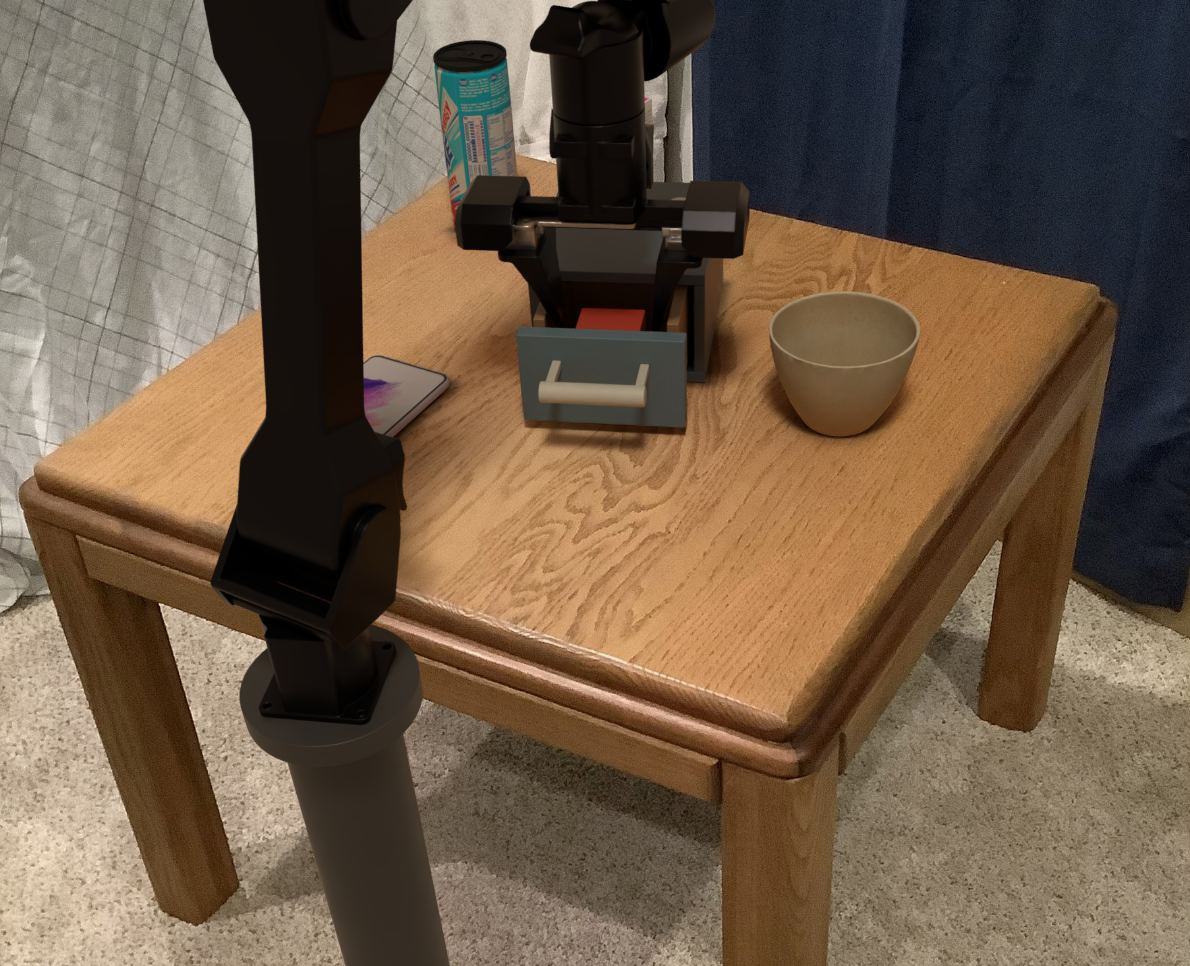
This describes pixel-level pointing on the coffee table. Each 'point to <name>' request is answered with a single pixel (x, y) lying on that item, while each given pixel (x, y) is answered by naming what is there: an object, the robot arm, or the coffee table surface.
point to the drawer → (608, 360)
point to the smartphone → (398, 392)
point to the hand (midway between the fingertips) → (608, 331)
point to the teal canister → (474, 113)
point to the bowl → (842, 357)
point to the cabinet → (641, 271)
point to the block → (612, 319)
